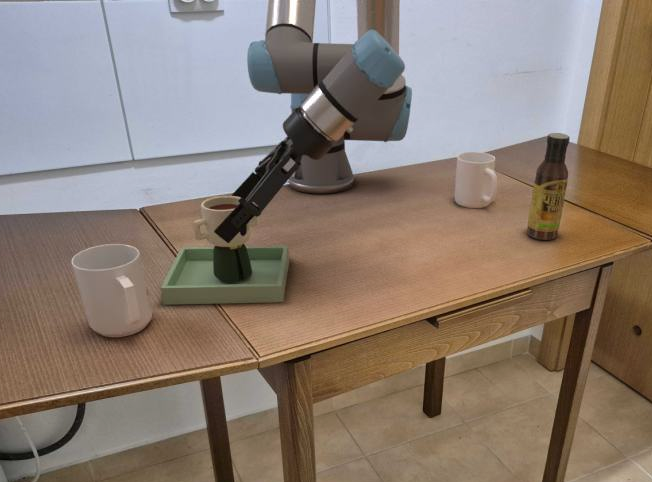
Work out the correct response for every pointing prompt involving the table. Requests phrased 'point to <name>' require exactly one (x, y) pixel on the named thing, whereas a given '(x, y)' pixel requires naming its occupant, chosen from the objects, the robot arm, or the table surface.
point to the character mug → (226, 256)
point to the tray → (204, 288)
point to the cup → (475, 180)
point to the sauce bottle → (549, 190)
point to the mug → (113, 289)
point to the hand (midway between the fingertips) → (228, 220)
